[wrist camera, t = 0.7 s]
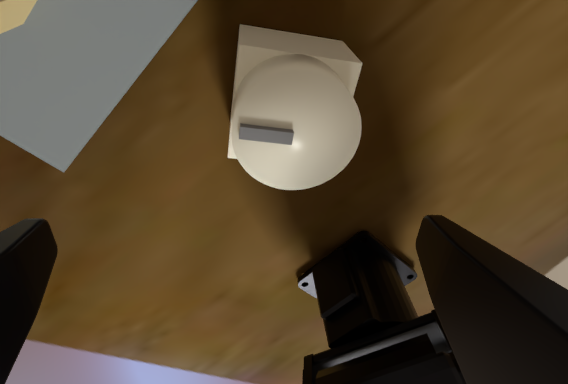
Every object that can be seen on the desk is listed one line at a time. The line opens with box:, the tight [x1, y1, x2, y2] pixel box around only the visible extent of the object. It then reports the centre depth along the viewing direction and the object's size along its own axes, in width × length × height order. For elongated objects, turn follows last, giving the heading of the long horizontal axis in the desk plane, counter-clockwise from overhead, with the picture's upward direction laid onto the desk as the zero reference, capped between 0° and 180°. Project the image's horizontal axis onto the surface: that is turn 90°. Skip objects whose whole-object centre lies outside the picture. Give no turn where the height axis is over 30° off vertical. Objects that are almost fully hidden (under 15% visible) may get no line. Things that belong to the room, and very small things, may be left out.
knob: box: [228, 24, 363, 190], centre depth 17 cm, size 5×5×6 cm
